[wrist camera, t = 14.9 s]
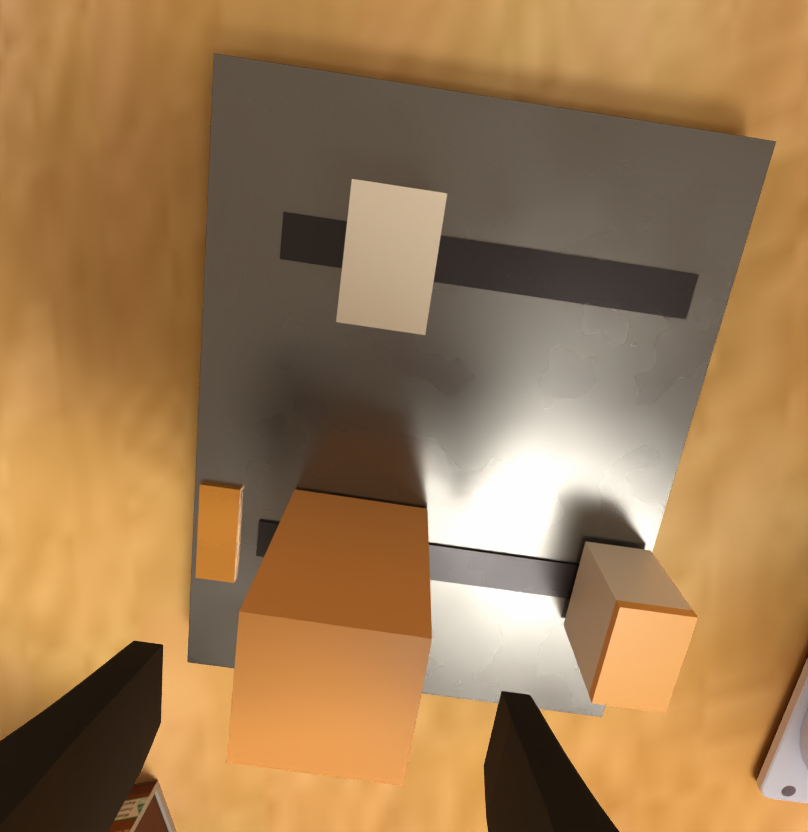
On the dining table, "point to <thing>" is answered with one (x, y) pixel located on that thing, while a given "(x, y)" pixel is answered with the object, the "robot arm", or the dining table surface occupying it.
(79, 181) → the dining table surface
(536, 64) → the dining table surface
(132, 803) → the food container
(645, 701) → the block
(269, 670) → the block
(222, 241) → the panel
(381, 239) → the block
